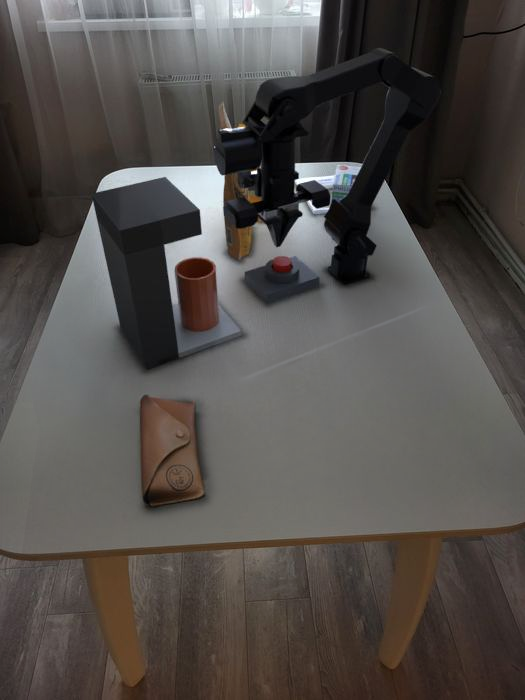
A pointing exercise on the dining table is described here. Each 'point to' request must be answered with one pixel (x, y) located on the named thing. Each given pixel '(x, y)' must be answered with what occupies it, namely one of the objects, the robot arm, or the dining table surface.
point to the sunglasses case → (169, 452)
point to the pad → (281, 280)
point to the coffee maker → (151, 268)
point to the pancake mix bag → (235, 237)
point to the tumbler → (197, 293)
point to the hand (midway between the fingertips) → (277, 245)
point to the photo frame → (324, 181)
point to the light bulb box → (343, 181)
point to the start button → (282, 264)
